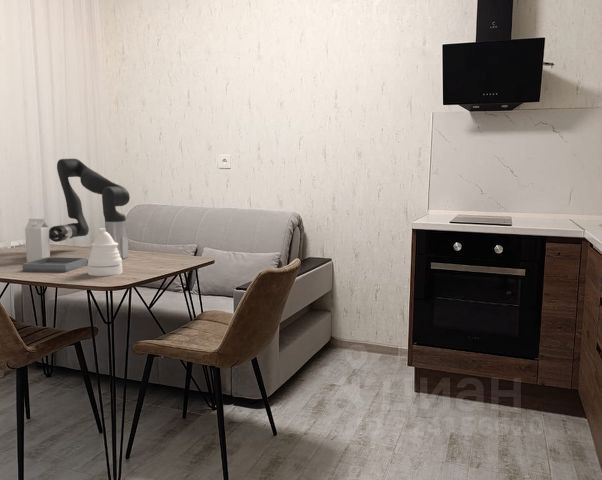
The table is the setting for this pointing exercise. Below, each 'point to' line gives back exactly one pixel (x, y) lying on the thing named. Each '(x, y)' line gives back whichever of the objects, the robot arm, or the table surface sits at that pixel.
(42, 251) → the milk carton
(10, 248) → the table surface
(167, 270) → the table surface
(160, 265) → the table surface
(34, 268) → the charcoal tray
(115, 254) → the honey pot
